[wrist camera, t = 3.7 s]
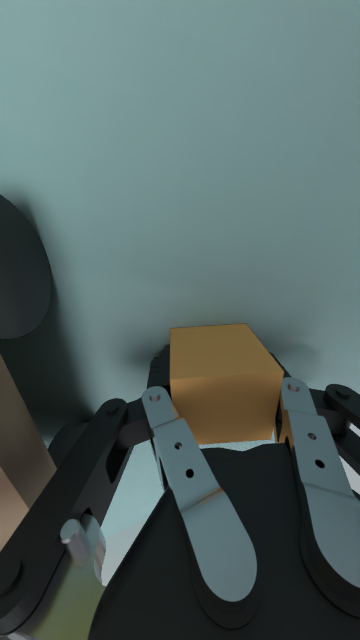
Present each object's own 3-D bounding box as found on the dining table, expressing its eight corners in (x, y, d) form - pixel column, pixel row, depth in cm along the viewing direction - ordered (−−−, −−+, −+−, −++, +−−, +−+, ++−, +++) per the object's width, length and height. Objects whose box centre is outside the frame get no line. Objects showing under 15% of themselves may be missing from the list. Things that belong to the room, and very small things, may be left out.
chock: (245, 323, 13) (284, 371, 9) (241, 376, 15) (271, 439, 11) (170, 328, 13) (169, 379, 9) (174, 381, 15) (175, 446, 11)
